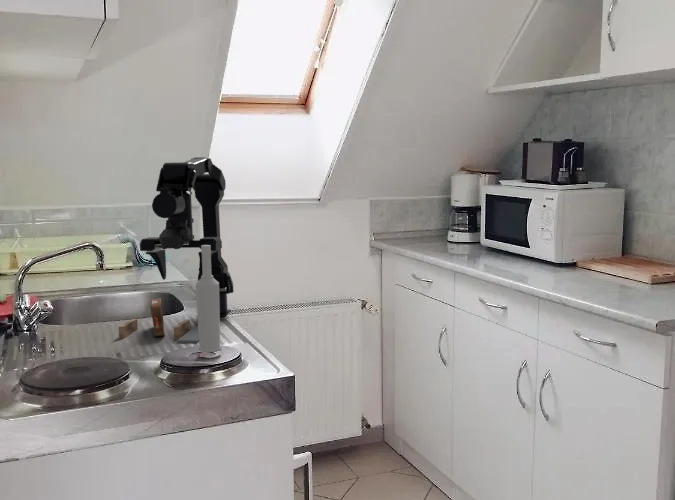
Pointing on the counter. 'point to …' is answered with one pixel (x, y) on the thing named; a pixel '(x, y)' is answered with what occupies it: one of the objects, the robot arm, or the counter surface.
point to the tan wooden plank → (133, 326)
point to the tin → (157, 317)
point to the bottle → (208, 306)
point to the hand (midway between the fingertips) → (182, 279)
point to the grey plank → (190, 336)
